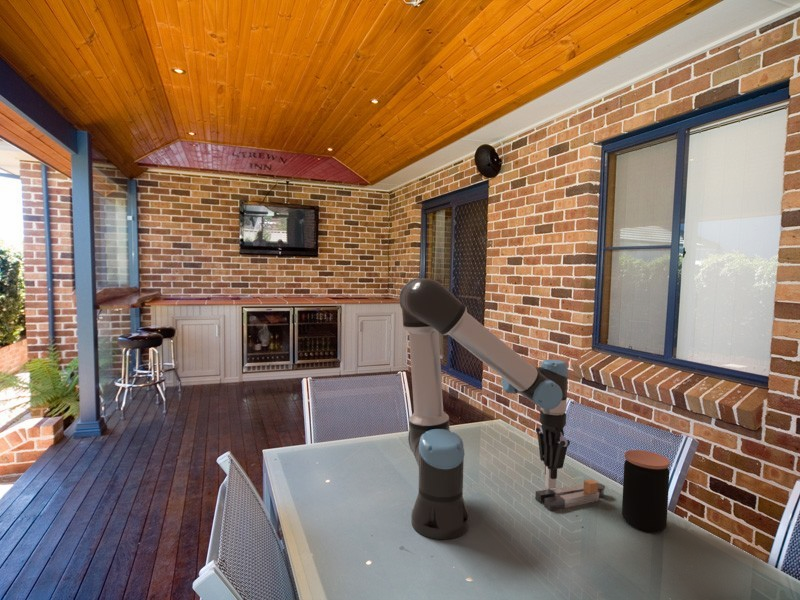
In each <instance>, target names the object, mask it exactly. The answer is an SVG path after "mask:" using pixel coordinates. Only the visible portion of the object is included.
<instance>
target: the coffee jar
mask: <svg viewBox="0 0 800 600" xmlns="http://www.w3.org/2000/svg"><path fill="white" fill-rule="evenodd" d="M624 458H625V461H624V463H623V480H622V481H623V482H622V483H623V485H622V502H621V503H622V505H621V515H622V518H623V520H624V521H625V523H626V524H627V525H629V526H630V527H632V528H634V529H635V530H639V531H642V532H645V533H650V534H651V533H652V534H653V533H655V534H656V533H661V532H663V530H664V529H666V528H667V523H668V509H669V507H668V506H669V505H668V504H669V489H670V469H669V468H670V465H671V461H670V459H668V458H667V457H666V456H664V455H661V454H660V453H656V452H653V451H648V450H643V449H642V450H641V449H629V450H627V451H625V452H624Z"/></svg>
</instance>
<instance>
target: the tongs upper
mask: <svg viewBox="0 0 800 600" xmlns="http://www.w3.org/2000/svg"><path fill="white" fill-rule="evenodd" d="M581 491H584V484H578V485H572V486H566V487H565V486H564V487H559V488H552V489H543V490H536V491H535V500H536V501H537V503H539V504H540V505H541V504H545V498H549V497H554V496H561V495H566V494H571V493H576V492H581Z"/></svg>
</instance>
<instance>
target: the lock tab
mask: <svg viewBox="0 0 800 600" xmlns="http://www.w3.org/2000/svg"><path fill="white" fill-rule="evenodd" d="M598 483H599V482H598V481H596V480H594V479H593V478H592V479H585V480H583V485H584V491H585V492H587V493H588V494H593V493H598Z"/></svg>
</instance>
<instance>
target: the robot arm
mask: <svg viewBox="0 0 800 600" xmlns="http://www.w3.org/2000/svg"><path fill="white" fill-rule="evenodd" d="M398 301H399V306H400V308H401V311H402V312H401V315H402V324H403V325H402V326H403V328H404V329H405V330H406V331H407V332H408V340H409V342H408V343H409V357H410V368H411V369H410V370H411V371H410V372H411V385H412V403H413V404H412V405H413V413H412V414H411V415H410V417H409V419H408V422H409V430H408V435H407V437H408V438H407V439H408V440H407V441H408V446H409V448H410V451H411V452H412V455H413V456H414V459H415V461H416V463H417V466H418V493H417V497H416V499H415V502H414V505H413V508H412V510H411V511H412V512H411V516H410V517H411V526H412V528H413V529H414V530H415V531H416V532H417V533H418V534H420V535H422V536H424V537H426V536H427V537H426V538H429V539H430V538H431V539H434V538H435V540H451V539H455V538H459V537H461V536H463V535H465V533H466V532H467V531H468V529H469V525H470V524H469V523H470V516H469V514H468V512H469V511H468V509H467V506H466V503H465V500H464V496H463V495H464V493H463V492H464V461H465V460H464V458H465V447H464V446H465V445H464V441H463V439H462V438H461V437H460V435H459V434H457V433H456V432H452V431H451V427H450V416H449V414H447V413H446V412H445V411H444V404H443V403H444V400H443V385H442V384H443V383H442V367H441V350H440V334H441V335H443V336H447V335H448V336H450V337H451V338H452V339H454V340H455V341H456V342H457V343H459V344H460V346H462V347H463V348H465V349H466V350H467V351H468V352H470V353H471V354H472V355H474V357H476V358H477V359H478V360H480V361H481V362H482V363H484V364H485V365H486V366H487V367H489V368H490V369H491V370H492V371H494V372H495V373H496V374H497V375H498V376H500V377H501V385H502V389H503V391H504V392H505V393H506V394H511V395H515V394H519V395H521V396H522V397H524V398H525V399H527V400H528V401H531V402H532V403H533V404H534V405H536V406H537V407H539V409H540V411H539V423H540V424H541V427H536V428H535V431H536V434H537V441H538V450H539V451H538V452H539V459H540V461H542V462H543V464H544V475H545V481H544V483H545V485H544V486H545V488H546V490H548V489H557V488H556V487H557V486H556V485H557V479H558V469H563V468H564V465H565V459H566V454H567V451H568V447H569V446H570V444H571V441H570V440H569V439H566V438H565V432H564V428H565V426H566V424H567V413H566V412H567V404H568V403H567V400H568V399H567V398H568V382H569V381H568V380H569V372H568V371H569V370H568V364H567V362H565V361H563V360H559V359H544V360H542V361H541V365H540V366H539V367H535V366H533V365H532V364H531V363H529V362H528V361H527V360H526V359H525V358H523V356H521V355H520V354H518V353H517V352H516V351H515V350H514V349H513V348H511V347H510V346H509V345H507V344H506V343H505V342H504V341H503V340H501V339H500V338H499V337H498V336H496V334H494V333H493V332H492V331H491V330H489V329H488V328H487V327H486V326H484V325H483V324H482V323H481V322H479V321H478V320H477V319H476V318H475V317H473V316H472V315H471V314H470V313H468V308H467V305H465V304H464V303H462V301H460V300H459V299H458V298H457V297H456V296H455V295H454V294H453V293H452V292H451V291H449V289H448V288H447V287H446V286H445V285H444V284H442V283H441V282H439V281H438V280H435V279H431V278H426V277H423V278H422V277H419V278H418V277H417V278H413V279H411V280H409V281H408V282H407V283H405V284H404V286H403V287H402V288H401V290H400V293H399V300H398Z"/></svg>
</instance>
